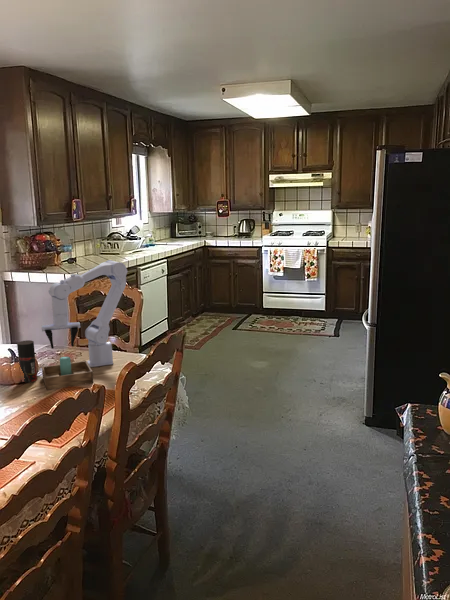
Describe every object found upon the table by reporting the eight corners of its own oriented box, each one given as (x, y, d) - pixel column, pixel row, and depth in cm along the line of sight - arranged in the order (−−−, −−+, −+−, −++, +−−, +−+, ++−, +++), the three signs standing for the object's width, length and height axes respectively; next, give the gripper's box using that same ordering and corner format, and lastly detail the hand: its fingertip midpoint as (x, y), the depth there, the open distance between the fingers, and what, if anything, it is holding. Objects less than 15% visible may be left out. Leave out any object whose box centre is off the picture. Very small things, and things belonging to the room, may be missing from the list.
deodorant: (32, 382, 199) (28, 344, 196) (17, 382, 200) (13, 344, 197) (40, 377, 205) (36, 340, 202) (26, 377, 206) (22, 340, 203)
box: (87, 371, 211) (86, 360, 210) (93, 382, 198) (92, 371, 198) (42, 377, 204) (41, 367, 203) (46, 390, 192) (45, 378, 191)
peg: (70, 375, 207) (69, 356, 205) (72, 378, 203) (71, 358, 202) (60, 377, 205) (58, 357, 203) (62, 380, 202) (60, 360, 200)
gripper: (41, 317, 200) (44, 351, 203) (80, 314, 206) (82, 347, 208) (40, 313, 206) (42, 346, 209) (78, 310, 212) (79, 342, 215)
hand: (62, 346), depth 209 cm, fingers open, 7 cm apart
